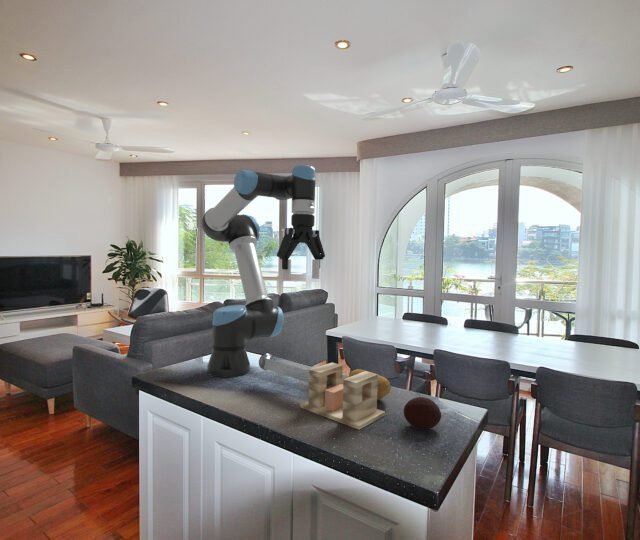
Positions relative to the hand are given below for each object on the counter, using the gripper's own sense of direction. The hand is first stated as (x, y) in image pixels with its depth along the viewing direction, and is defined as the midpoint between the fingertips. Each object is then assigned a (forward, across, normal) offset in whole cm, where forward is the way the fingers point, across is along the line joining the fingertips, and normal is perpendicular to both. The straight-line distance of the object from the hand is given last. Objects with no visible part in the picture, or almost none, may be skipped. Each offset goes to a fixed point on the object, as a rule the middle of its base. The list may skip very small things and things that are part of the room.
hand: (301, 279), depth 128 cm
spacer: (+31, -8, -21) cm, 38 cm away
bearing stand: (+35, -8, -24) cm, 43 cm away
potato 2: (+35, -2, -45) cm, 57 cm away
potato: (+35, +5, -24) cm, 43 cm away
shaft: (+30, -8, -5) cm, 31 cm away
